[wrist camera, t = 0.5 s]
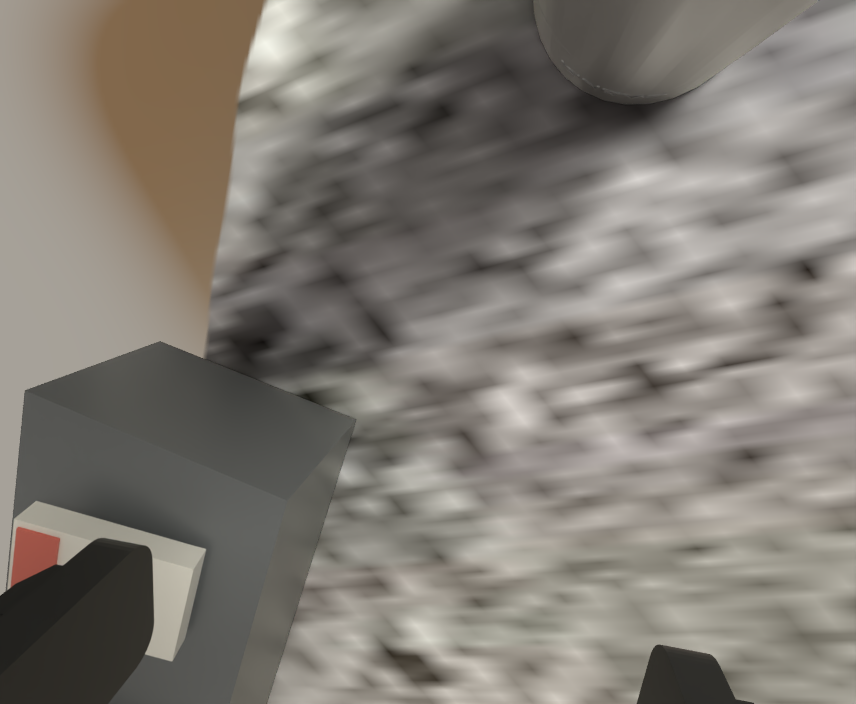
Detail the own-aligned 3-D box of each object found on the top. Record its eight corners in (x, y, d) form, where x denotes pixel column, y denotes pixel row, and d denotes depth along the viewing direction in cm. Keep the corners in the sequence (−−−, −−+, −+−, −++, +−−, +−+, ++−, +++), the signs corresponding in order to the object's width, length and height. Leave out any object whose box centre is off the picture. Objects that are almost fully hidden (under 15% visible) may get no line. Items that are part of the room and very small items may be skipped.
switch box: (152, 338, 31) (14, 385, 23) (356, 419, 30) (287, 500, 21) (93, 679, 39) (-23, 803, 31) (250, 753, 38) (173, 902, 30)
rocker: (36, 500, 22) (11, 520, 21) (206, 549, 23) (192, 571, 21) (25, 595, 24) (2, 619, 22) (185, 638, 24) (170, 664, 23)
